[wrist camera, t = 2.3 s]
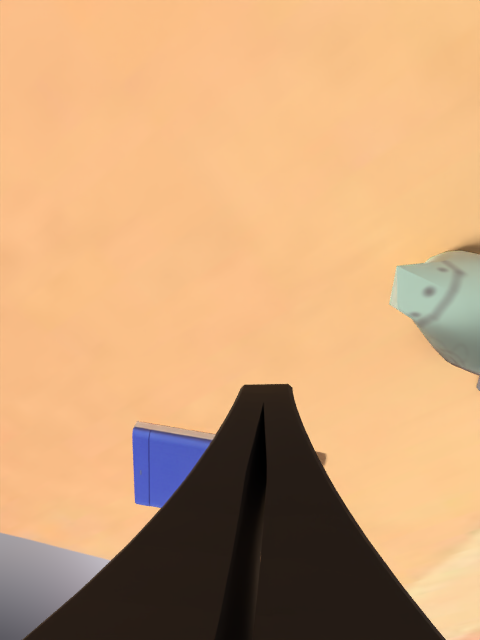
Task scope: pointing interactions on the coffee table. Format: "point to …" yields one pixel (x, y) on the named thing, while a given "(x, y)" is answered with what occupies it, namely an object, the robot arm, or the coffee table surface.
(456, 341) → the grey-green rounded piece
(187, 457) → the hard drive
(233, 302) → the coffee table surface
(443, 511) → the coffee table surface
